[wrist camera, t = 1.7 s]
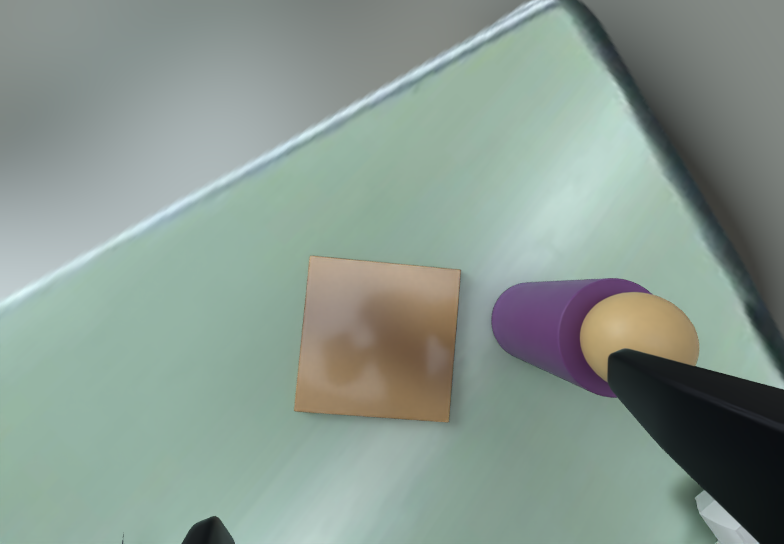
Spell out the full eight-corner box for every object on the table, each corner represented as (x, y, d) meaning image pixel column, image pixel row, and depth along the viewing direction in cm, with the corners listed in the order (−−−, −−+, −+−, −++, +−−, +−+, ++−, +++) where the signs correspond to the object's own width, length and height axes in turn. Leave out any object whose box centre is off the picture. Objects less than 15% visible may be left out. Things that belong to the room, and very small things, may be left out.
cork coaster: (447, 420, 25) (448, 422, 24) (295, 409, 24) (293, 411, 24) (459, 269, 25) (461, 269, 25) (310, 256, 25) (309, 255, 24)
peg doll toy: (563, 362, 25) (742, 429, 13) (488, 356, 25) (599, 419, 13) (568, 286, 26) (748, 282, 13) (494, 279, 25) (608, 268, 13)
